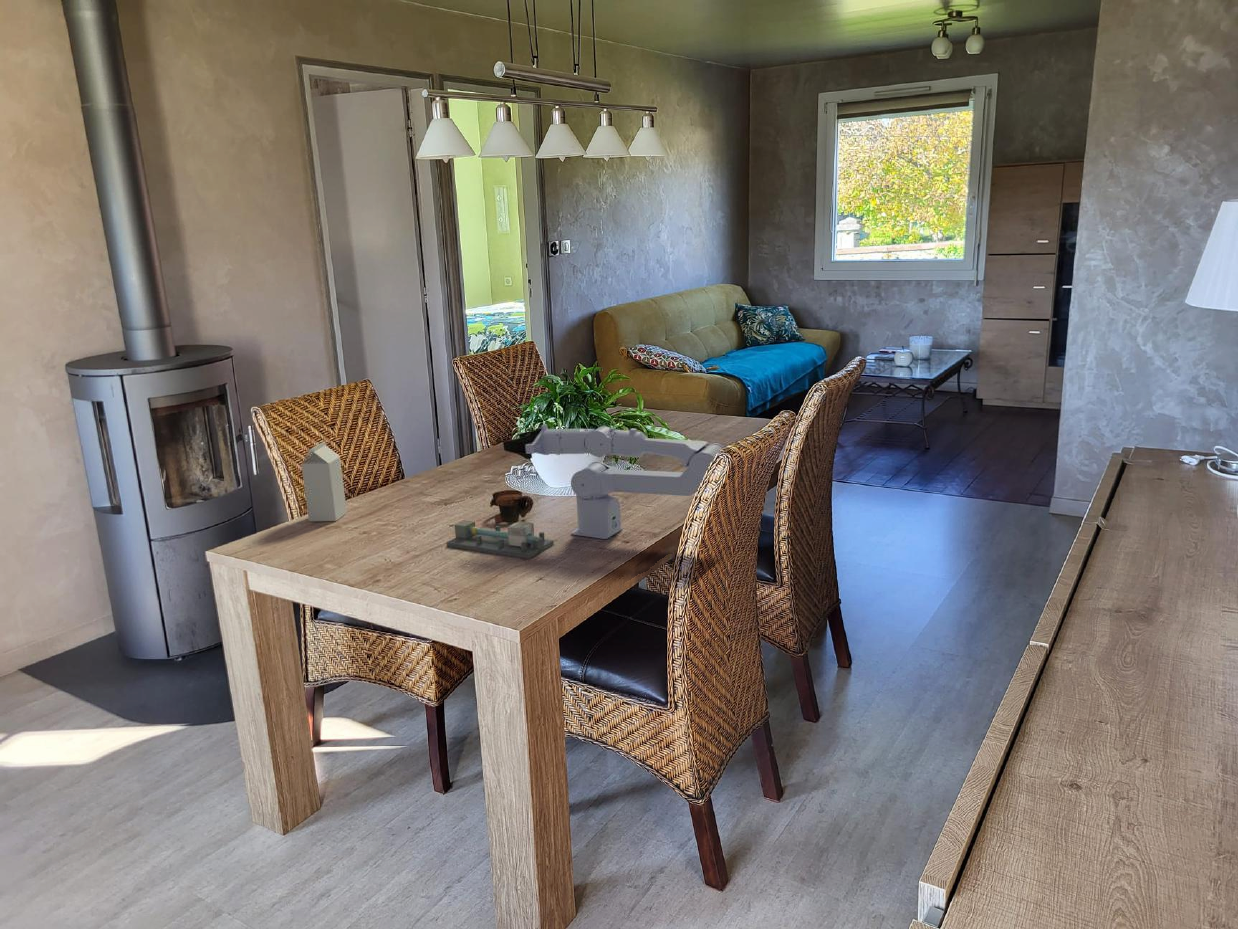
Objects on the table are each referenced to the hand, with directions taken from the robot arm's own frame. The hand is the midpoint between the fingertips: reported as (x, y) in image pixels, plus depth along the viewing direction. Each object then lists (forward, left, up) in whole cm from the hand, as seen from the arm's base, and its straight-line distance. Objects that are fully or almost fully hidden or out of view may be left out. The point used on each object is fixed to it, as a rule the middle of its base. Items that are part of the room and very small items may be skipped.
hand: (512, 442), depth 213 cm
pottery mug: (+5, -4, -21) cm, 22 cm away
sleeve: (-10, +14, -19) cm, 26 cm away
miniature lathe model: (-4, +14, -20) cm, 25 cm away
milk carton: (+50, +13, -21) cm, 55 cm away
